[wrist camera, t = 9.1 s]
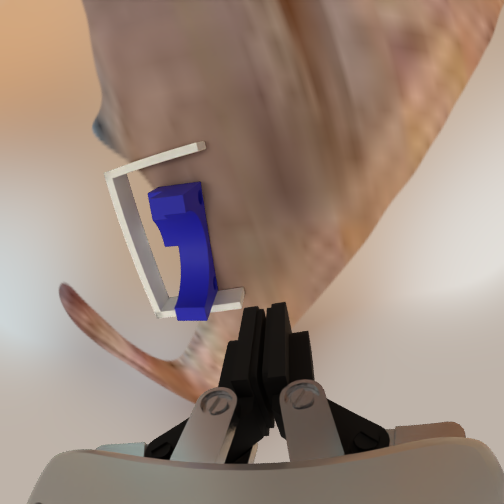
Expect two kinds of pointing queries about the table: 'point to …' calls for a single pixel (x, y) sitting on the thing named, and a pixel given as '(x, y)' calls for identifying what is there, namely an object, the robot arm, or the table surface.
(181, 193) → the cable clip
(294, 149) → the table surface
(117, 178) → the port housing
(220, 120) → the table surface
